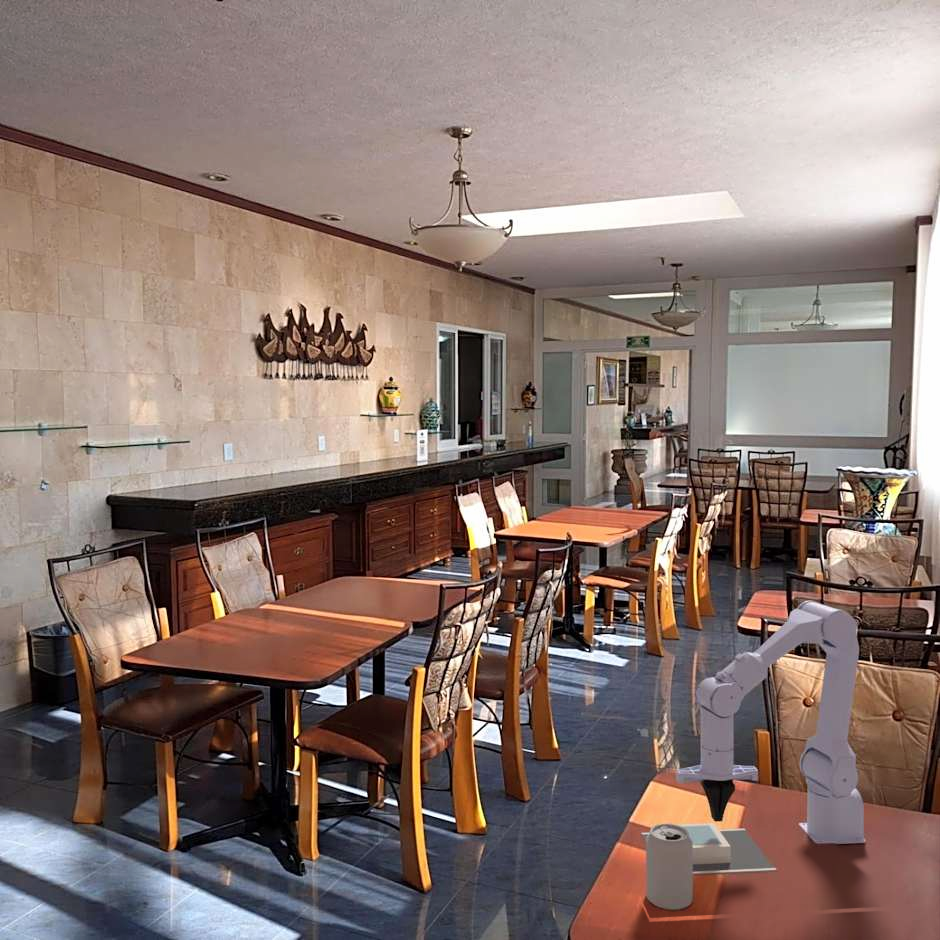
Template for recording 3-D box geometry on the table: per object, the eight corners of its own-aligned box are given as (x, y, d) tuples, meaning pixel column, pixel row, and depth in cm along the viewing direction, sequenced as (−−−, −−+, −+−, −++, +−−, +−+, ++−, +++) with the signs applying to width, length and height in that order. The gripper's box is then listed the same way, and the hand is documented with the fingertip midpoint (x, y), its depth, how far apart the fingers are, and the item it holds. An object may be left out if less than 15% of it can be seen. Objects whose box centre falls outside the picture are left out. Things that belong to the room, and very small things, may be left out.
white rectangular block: (713, 822, 167) (674, 824, 166) (730, 845, 158) (688, 847, 157) (713, 838, 167) (674, 840, 166) (730, 862, 158) (688, 864, 157)
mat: (743, 830, 171) (743, 827, 171) (777, 873, 155) (777, 870, 155) (640, 835, 170) (640, 832, 169) (663, 879, 154) (663, 875, 154)
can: (666, 919, 142) (666, 846, 141) (636, 896, 148) (636, 826, 147) (702, 906, 145) (702, 835, 144) (672, 885, 152) (671, 816, 151)
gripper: (748, 736, 165) (747, 807, 166) (671, 739, 165) (671, 810, 165) (762, 750, 158) (762, 825, 159) (682, 753, 157) (682, 828, 158)
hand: (716, 819), depth 162 cm, fingers closed
